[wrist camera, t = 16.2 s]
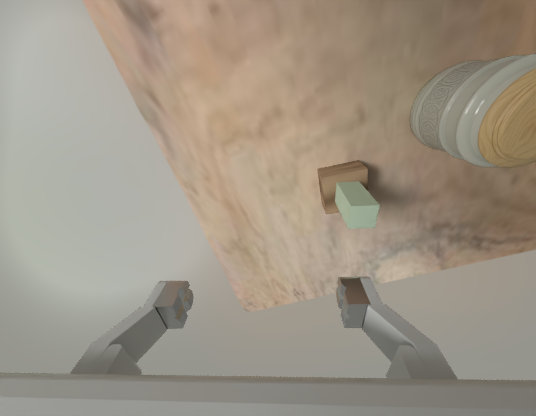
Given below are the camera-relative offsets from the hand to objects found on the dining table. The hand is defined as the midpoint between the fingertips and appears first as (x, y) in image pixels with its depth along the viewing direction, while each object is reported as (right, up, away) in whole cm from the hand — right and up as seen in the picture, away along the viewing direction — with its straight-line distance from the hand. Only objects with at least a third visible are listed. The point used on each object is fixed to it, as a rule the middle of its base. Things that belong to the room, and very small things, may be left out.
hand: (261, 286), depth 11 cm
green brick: (+15, +7, +28) cm, 33 cm away
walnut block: (+15, +10, +32) cm, 37 cm away
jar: (+31, +22, +25) cm, 45 cm away
